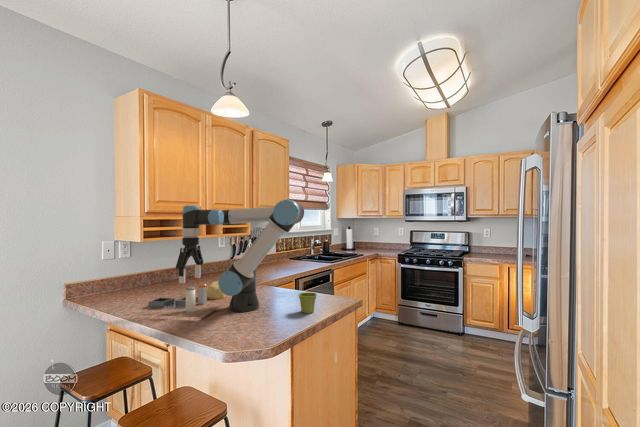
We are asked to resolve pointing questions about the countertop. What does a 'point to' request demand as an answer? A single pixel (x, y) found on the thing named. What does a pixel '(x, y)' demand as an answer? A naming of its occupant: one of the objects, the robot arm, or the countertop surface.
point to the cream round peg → (190, 299)
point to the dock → (169, 303)
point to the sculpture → (215, 291)
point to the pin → (202, 294)
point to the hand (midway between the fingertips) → (190, 280)
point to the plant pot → (307, 301)
